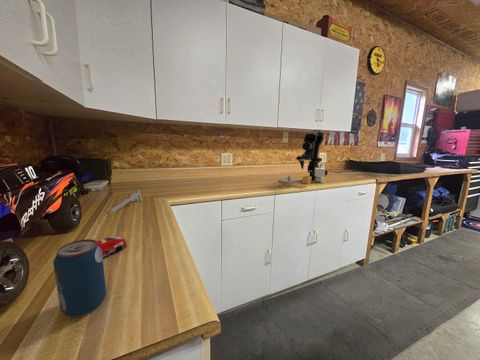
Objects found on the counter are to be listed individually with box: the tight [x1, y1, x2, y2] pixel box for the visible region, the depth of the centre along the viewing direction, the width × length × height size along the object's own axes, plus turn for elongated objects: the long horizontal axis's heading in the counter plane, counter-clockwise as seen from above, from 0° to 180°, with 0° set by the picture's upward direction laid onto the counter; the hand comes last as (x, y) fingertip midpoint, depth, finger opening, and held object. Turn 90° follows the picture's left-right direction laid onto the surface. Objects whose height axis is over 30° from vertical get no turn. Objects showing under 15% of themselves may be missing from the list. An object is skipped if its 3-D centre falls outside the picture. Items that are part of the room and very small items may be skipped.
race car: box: [95, 236, 128, 260], centre depth 55 cm, size 13×5×4 cm, turn 151°
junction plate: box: [277, 175, 301, 185], centre depth 168 cm, size 13×13×4 cm
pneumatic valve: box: [312, 166, 329, 183], centre depth 171 cm, size 6×12×12 cm, turn 77°
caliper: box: [107, 188, 142, 214], centre depth 96 cm, size 20×1×6 cm, turn 170°
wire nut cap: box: [301, 175, 312, 185], centre depth 164 cm, size 5×5×6 cm
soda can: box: [52, 238, 107, 318], centre depth 38 cm, size 7×7×12 cm
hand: (307, 169), depth 163 cm, fingers open, 9 cm apart
